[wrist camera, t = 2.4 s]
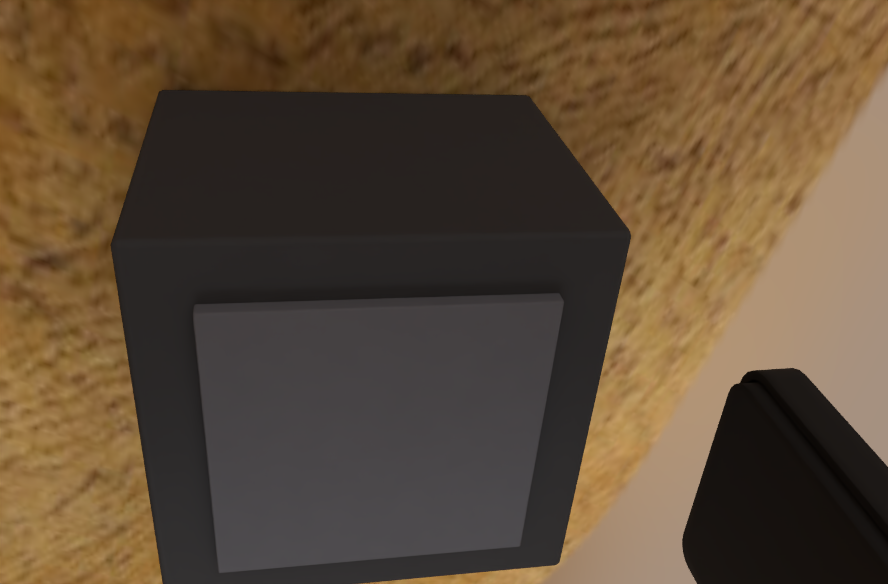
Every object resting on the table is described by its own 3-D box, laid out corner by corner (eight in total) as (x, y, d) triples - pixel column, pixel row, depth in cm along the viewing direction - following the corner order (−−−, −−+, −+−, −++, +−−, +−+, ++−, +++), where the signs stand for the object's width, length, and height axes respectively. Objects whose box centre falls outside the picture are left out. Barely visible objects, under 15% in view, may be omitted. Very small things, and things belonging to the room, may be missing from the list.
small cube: (530, 93, 13) (641, 241, 9) (492, 375, 16) (564, 578, 12) (157, 88, 12) (104, 252, 8) (190, 390, 15) (163, 617, 11)
